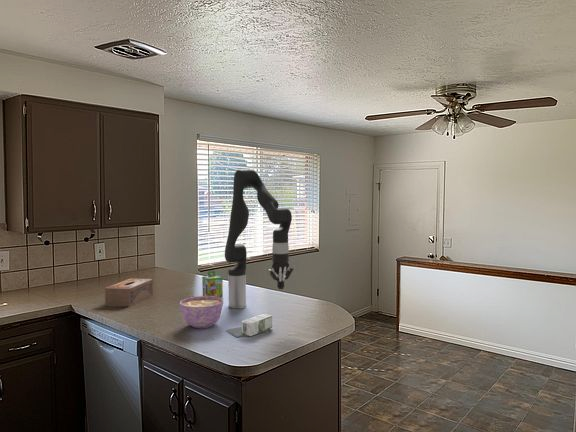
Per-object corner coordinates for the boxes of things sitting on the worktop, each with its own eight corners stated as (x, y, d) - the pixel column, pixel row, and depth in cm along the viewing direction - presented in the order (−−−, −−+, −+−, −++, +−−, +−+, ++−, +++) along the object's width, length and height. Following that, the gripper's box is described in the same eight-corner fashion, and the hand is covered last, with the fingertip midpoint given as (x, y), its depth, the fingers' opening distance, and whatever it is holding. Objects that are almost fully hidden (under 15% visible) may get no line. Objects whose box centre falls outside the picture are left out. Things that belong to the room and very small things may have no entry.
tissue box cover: (129, 307, 244) (128, 289, 244) (105, 306, 247) (104, 288, 247) (153, 295, 269) (152, 279, 269) (131, 294, 272) (130, 278, 272)
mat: (226, 330, 203) (226, 329, 203) (257, 324, 211) (257, 323, 211) (236, 337, 194) (236, 336, 194) (269, 331, 202) (269, 330, 202)
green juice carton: (209, 299, 260) (208, 273, 258) (201, 296, 267) (201, 271, 266) (223, 296, 265) (222, 271, 264) (216, 293, 272) (215, 269, 271)
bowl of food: (183, 320, 220) (183, 296, 219) (225, 318, 221) (225, 295, 220) (176, 333, 200) (175, 307, 199) (222, 332, 201) (221, 306, 200)
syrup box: (263, 313, 208) (240, 321, 197) (272, 315, 204) (250, 323, 193) (263, 325, 208) (240, 333, 197) (272, 328, 205) (250, 336, 194)
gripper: (288, 249, 215) (288, 285, 217) (264, 252, 208) (264, 289, 210) (297, 251, 209) (297, 288, 210) (272, 254, 202) (272, 292, 204)
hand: (280, 288), depth 210 cm, fingers closed
